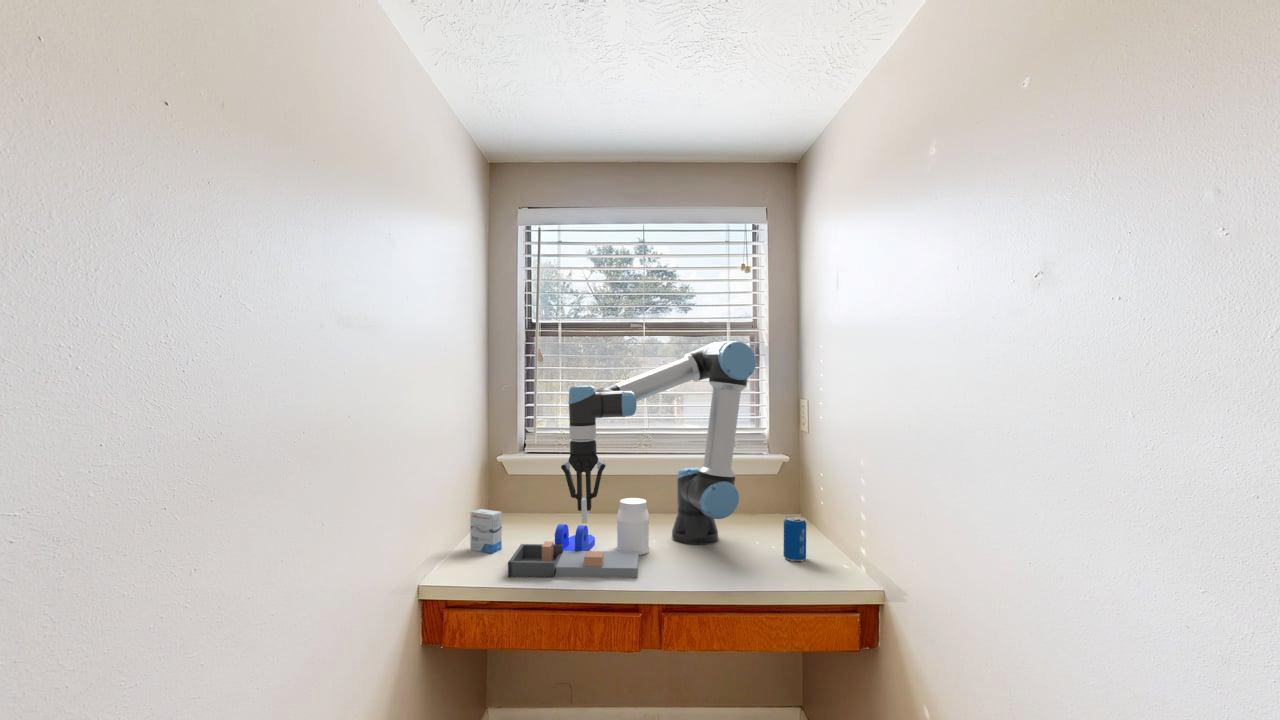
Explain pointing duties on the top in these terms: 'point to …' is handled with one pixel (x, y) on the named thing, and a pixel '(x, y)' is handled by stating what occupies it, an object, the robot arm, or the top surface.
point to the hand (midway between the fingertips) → (584, 521)
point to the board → (612, 566)
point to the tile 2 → (594, 558)
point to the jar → (633, 526)
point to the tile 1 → (548, 551)
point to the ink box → (486, 531)
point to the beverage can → (794, 538)
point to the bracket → (574, 538)
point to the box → (533, 562)
